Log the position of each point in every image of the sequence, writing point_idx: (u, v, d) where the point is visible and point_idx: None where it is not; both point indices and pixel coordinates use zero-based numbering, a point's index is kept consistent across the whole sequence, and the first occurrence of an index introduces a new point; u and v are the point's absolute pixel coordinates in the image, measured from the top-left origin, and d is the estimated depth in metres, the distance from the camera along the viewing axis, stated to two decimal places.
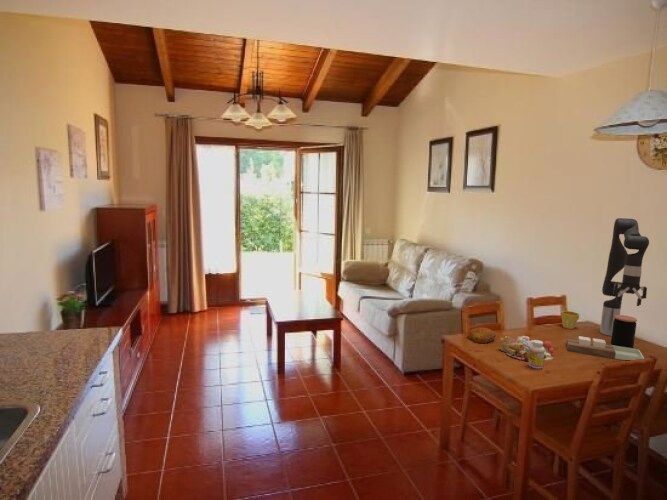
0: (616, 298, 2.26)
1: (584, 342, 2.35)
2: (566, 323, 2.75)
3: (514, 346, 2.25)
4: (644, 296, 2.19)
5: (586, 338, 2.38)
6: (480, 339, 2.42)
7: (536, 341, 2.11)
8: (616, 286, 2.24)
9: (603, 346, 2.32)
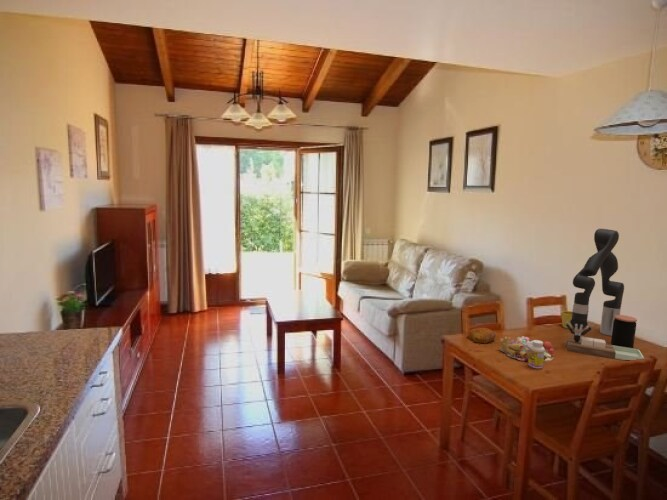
0: (574, 336, 2.40)
1: (587, 343, 2.35)
2: None
3: (514, 347, 2.24)
4: (582, 333, 2.37)
5: (589, 338, 2.37)
6: (480, 339, 2.42)
7: (536, 341, 2.11)
8: (568, 326, 2.40)
9: (603, 346, 2.32)
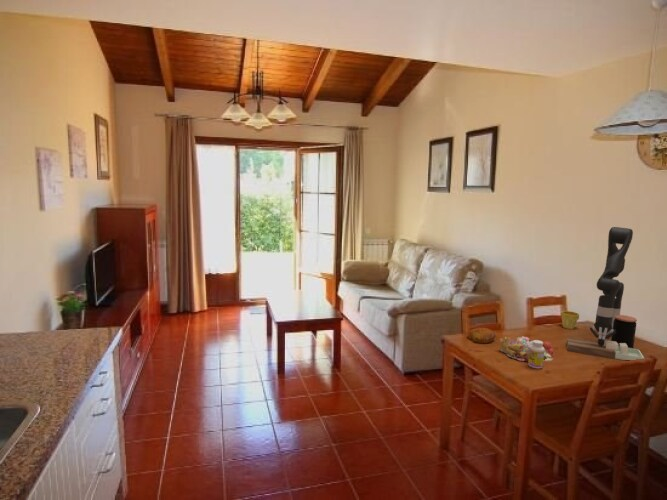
0: (598, 340, 2.35)
1: (611, 347, 2.30)
2: (566, 323, 2.75)
3: (514, 347, 2.23)
4: (607, 337, 2.32)
5: (613, 342, 2.32)
6: (480, 339, 2.42)
7: (536, 341, 2.11)
8: (591, 329, 2.35)
9: None
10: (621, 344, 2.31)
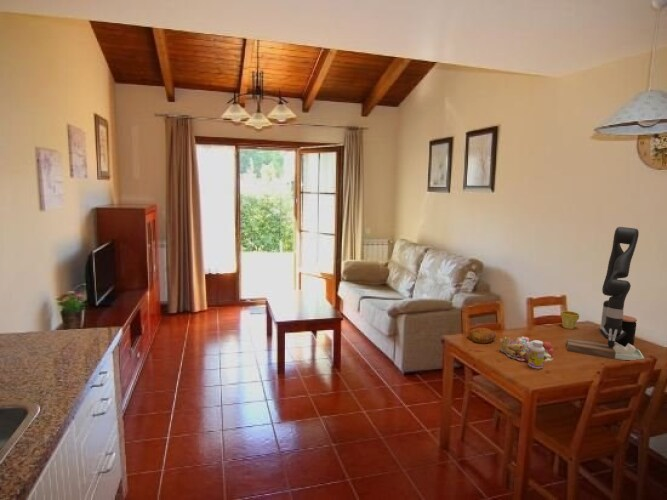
0: None
1: (619, 350, 2.29)
2: (566, 323, 2.75)
3: (514, 347, 2.23)
4: (617, 338, 2.30)
5: (622, 346, 2.31)
6: (480, 339, 2.42)
7: (536, 341, 2.11)
8: (601, 331, 2.33)
9: (626, 354, 2.28)
10: (630, 345, 2.29)
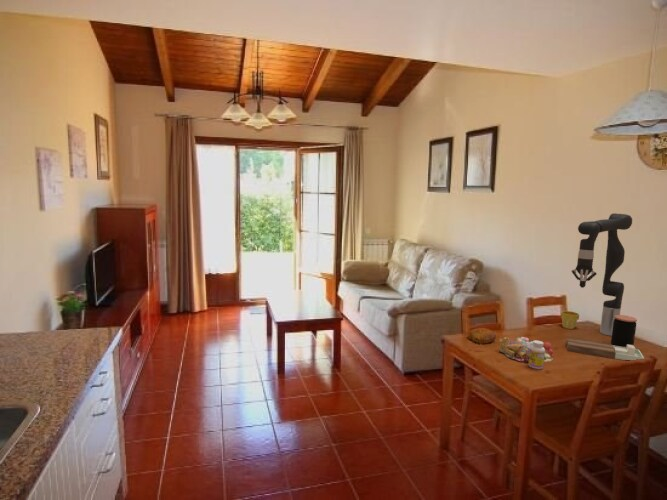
0: None
1: None
2: (566, 323, 2.75)
3: (513, 347, 2.23)
4: (588, 278, 2.42)
5: (622, 349, 2.31)
6: (480, 339, 2.42)
7: (536, 341, 2.11)
8: (573, 272, 2.45)
9: None
10: (629, 345, 2.29)
